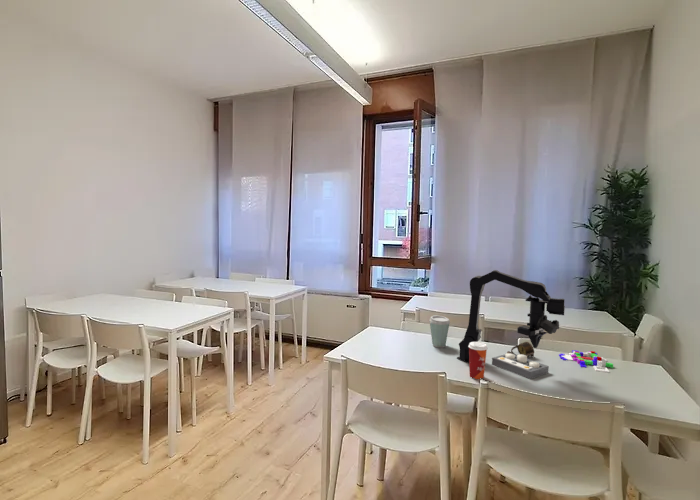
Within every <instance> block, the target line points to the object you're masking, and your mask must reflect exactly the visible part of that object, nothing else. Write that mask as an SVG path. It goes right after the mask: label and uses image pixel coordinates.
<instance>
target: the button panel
mask: <svg viewBox="0 0 700 500" xmlns="http://www.w3.org/2000/svg"><path fill="white" fill-rule="evenodd" d="M510 354H512V353H510ZM515 354H516V353H514V355H515ZM517 355H518V354H516V355H515V359H512V361H515V362H517ZM500 357H504V358H505V354H502V355H498V356H494V357H492V358H491V365H493V366H496V367H498V368H500V369H503V370H506V371H508V372H511V373H514V374H517V376H518V375H519V376H521V377H524V378H527V379H529V380H531V379H535V378H537V377H540V376H543V375H546V374H549V368H550V366H549V365H547V364H543V363H541V362H538V361H535V360H532V359H529V358H527V363H525V364H523V365H526V366H529V362H537V363H539V364H540V365H539V368H533V367H532V369H529V370H526V369H523V368H520V367H517V366H515V365H512V364H509V363H507V362H504V361H501V360H498V359H497V358H500ZM507 359H508V358H507ZM509 360H511V359H509ZM518 363H519V362H518ZM521 364H522V363H521ZM529 367H531V366H529Z"/></svg>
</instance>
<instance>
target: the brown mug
mask: <svg viewBox="0 0 700 500" xmlns="http://www.w3.org/2000/svg"><path fill="white" fill-rule="evenodd" d="M515 349H517V352H518V353H519V354H523V355H526V356H527V357H529V356H531V357H532V358H534V357H535V348H534V347H533V345H532V343H530V341H524V342H522V343H519V344H518V345H515V346H513V347H512V348H511V350H510V351H507V352H506V354H507V353H512V354H515V355H517V354H516V353H514V352H513V350H515Z"/></svg>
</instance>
